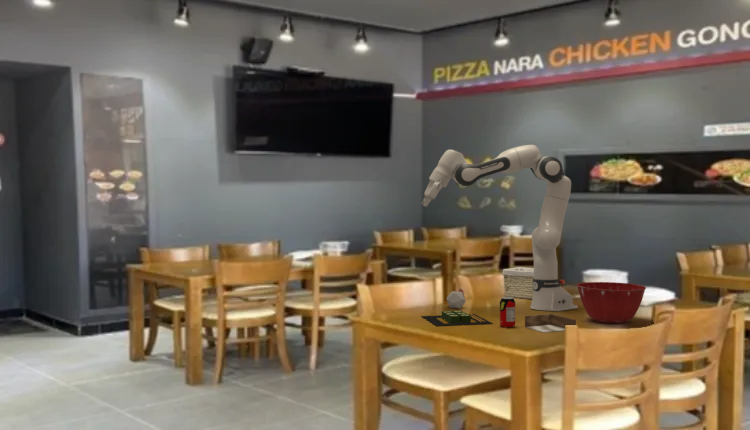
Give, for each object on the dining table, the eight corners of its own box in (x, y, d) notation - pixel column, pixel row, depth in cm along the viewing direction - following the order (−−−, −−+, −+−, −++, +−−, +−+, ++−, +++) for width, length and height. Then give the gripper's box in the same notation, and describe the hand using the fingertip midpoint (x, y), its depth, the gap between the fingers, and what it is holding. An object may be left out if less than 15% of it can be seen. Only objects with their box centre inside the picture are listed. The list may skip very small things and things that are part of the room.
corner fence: (551, 324, 331) (551, 313, 331) (575, 330, 316) (575, 319, 316) (522, 326, 325) (522, 316, 325) (546, 333, 310) (546, 322, 310)
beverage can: (513, 325, 330) (513, 296, 329) (516, 327, 323) (516, 298, 323) (498, 325, 330) (498, 296, 329) (501, 327, 323) (501, 298, 323)
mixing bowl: (617, 314, 356) (617, 280, 356) (660, 324, 330) (660, 287, 329) (563, 318, 346) (563, 283, 346) (603, 329, 320) (604, 291, 319)
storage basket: (501, 296, 413) (501, 268, 413) (518, 293, 425) (519, 266, 424) (540, 301, 396) (540, 272, 396) (557, 298, 408) (557, 269, 407)
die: (468, 308, 378) (459, 291, 382) (468, 302, 370) (459, 284, 375) (452, 315, 377) (444, 297, 382) (452, 308, 370) (444, 291, 374)
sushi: (493, 325, 332) (493, 316, 332) (436, 328, 327) (436, 319, 327) (474, 315, 357) (474, 307, 356) (420, 318, 352) (420, 309, 352)
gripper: (447, 183, 358) (431, 210, 359) (442, 183, 379) (427, 208, 379) (435, 176, 358) (419, 203, 358) (430, 176, 378) (416, 201, 379)
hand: (423, 205), depth 369 cm, fingers open, 8 cm apart
